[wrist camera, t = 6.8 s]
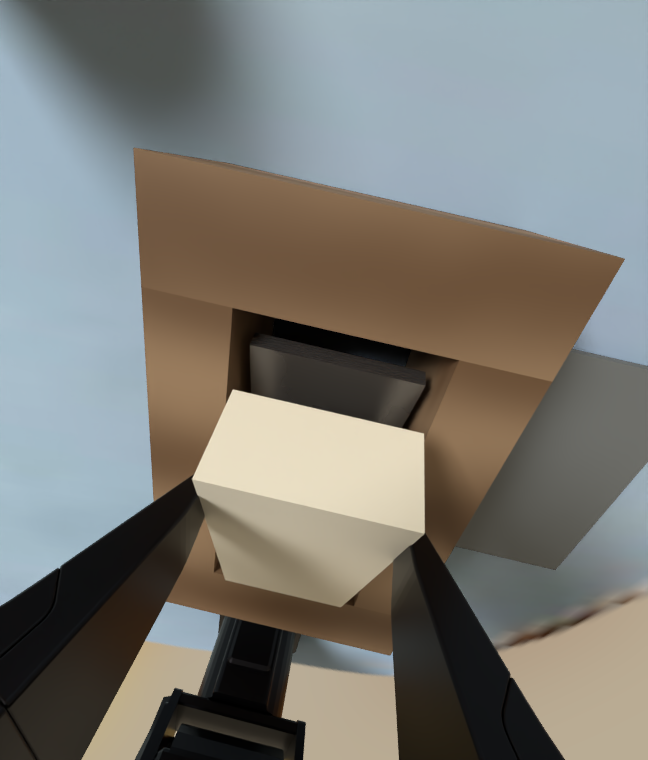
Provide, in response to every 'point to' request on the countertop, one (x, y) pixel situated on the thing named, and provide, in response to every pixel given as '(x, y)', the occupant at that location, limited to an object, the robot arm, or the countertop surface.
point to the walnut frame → (353, 317)
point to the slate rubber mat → (566, 463)
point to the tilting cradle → (333, 380)
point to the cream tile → (309, 497)
